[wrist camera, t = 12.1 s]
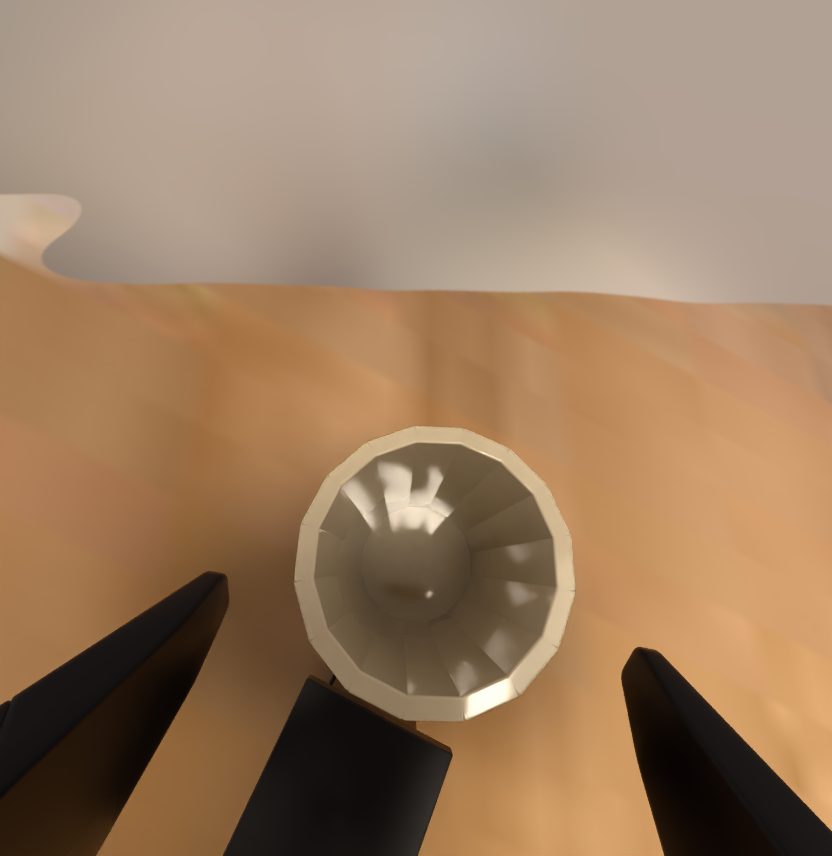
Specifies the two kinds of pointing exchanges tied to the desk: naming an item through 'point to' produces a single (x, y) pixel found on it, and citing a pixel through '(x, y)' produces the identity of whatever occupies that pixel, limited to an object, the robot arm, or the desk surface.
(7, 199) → the desk surface
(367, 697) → the pen pot
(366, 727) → the leg piece
